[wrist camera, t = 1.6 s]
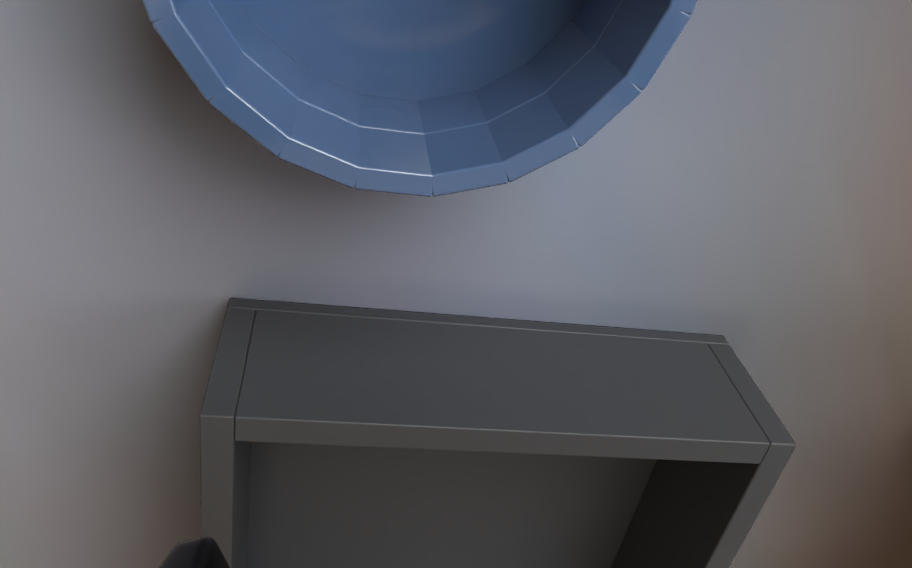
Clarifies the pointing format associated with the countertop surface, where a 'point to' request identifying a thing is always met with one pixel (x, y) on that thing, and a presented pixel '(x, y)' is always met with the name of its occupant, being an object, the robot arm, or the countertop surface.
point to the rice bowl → (420, 80)
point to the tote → (477, 443)
